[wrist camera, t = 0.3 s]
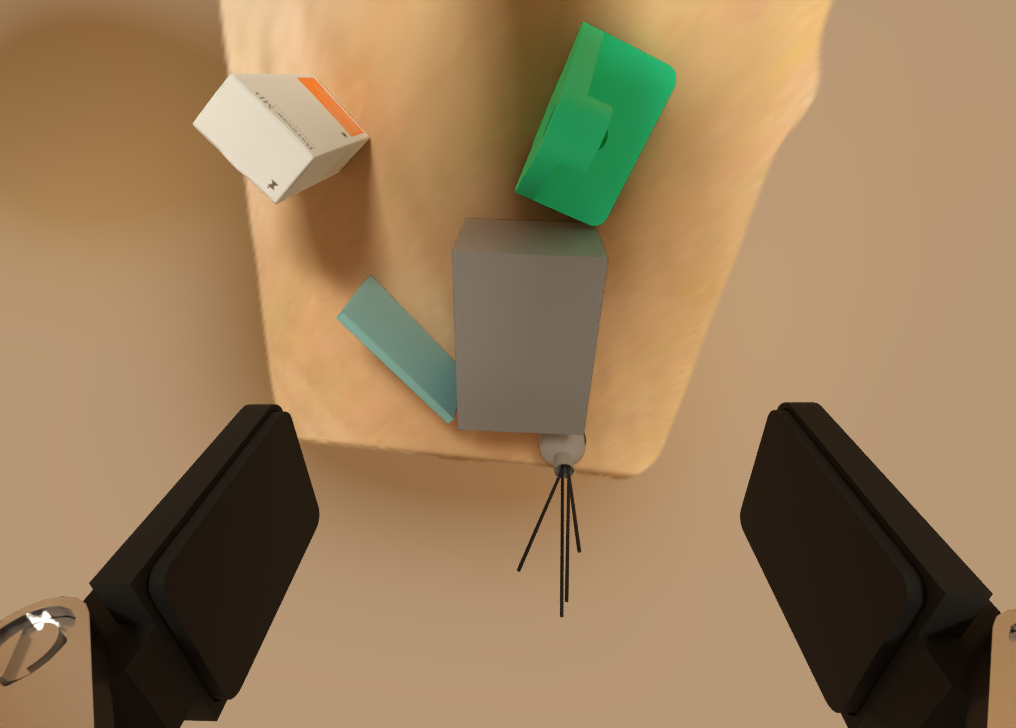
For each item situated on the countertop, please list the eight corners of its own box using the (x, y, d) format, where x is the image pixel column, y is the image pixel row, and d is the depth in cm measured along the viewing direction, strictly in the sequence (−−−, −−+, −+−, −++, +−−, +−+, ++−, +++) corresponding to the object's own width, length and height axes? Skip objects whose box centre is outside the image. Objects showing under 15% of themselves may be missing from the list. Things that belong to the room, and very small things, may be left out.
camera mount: (597, 221, 42) (615, 261, 33) (515, 185, 41) (512, 217, 32) (672, 71, 36) (718, 72, 28) (580, 24, 35) (598, 9, 26)
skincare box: (372, 136, 39) (317, 160, 29) (338, 173, 41) (275, 208, 31) (311, 69, 37) (229, 70, 27) (278, 111, 39) (188, 126, 28)
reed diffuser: (575, 456, 56) (596, 627, 39) (515, 449, 56) (509, 619, 38) (592, 381, 51) (626, 541, 33) (526, 374, 50) (525, 531, 33)
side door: (464, 371, 50) (454, 419, 43) (458, 375, 50) (447, 423, 43) (370, 274, 45) (342, 312, 38) (364, 279, 45) (335, 317, 38)
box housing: (463, 218, 42) (449, 251, 35) (593, 222, 42) (608, 257, 34) (466, 374, 51) (455, 429, 43) (575, 379, 50) (583, 435, 43)
